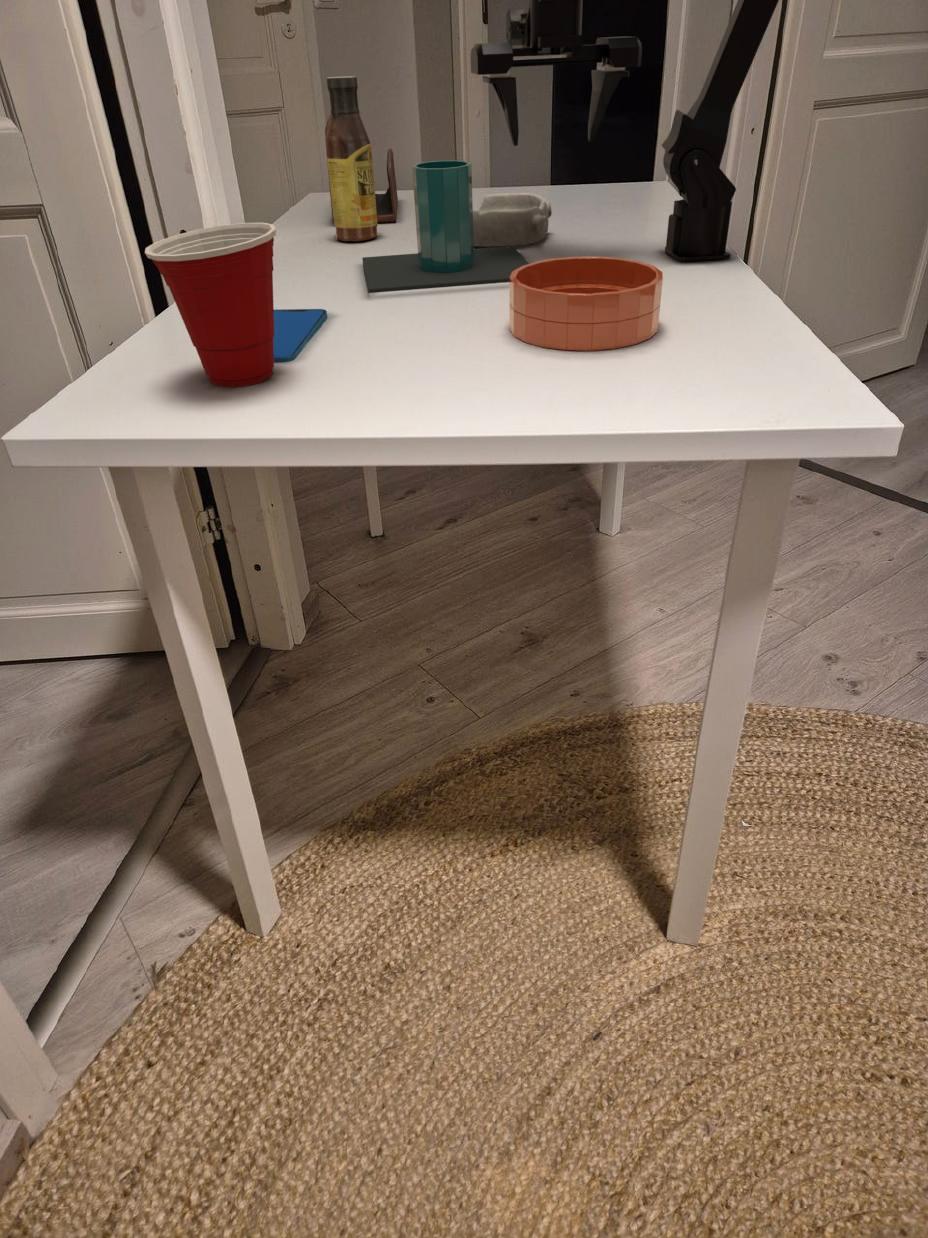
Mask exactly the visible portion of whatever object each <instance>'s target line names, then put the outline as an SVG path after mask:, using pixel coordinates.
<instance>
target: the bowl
mask: <svg viewBox="0 0 928 1238" xmlns="http://www.w3.org/2000/svg"><path fill="white" fill-rule="evenodd" d="M663 274H664V273H663V271H662V270H660V269H659V268H658V267H656V266H655V265H652V264H649V263H646V262H643V261H640V260H634V259H628V258H622V257H612V256H611V257H610V256H609V257H608V256H568V257H557V258H556V257H555V258H549V259H544V260H543V259H542V260H537V261H534V262H531V263H529V264H527V265H524V266H521V267H519V268H518V269H516V270H514V271H513V272H512V273H511V275H510V278H509V282H508V284H509V285H508V286H509V330H510V332H511V334H512V336H513V337H514V338H517V339H519V340H521V341H522V342H524V343H526V344H530V345H534V346H536V347H541V348H545V349H552V350H560V351H561V350H562V351H578V352H579V351H580V352H581V351H585V352H586V351H587V352H591V351H593V352H594V351H602V350H603V351H604V350H614V349H620V348H625V347H629V346H634V345H638V344H640V343H643V342H645V341H648V340H650V339H651V338H652V337H653V336H655V334H656V333H657V332H658V331H659V320H660V311H661V299H662V293H663V292H662V291H663V282H664V281H663V280H664V276H663Z"/></svg>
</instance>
